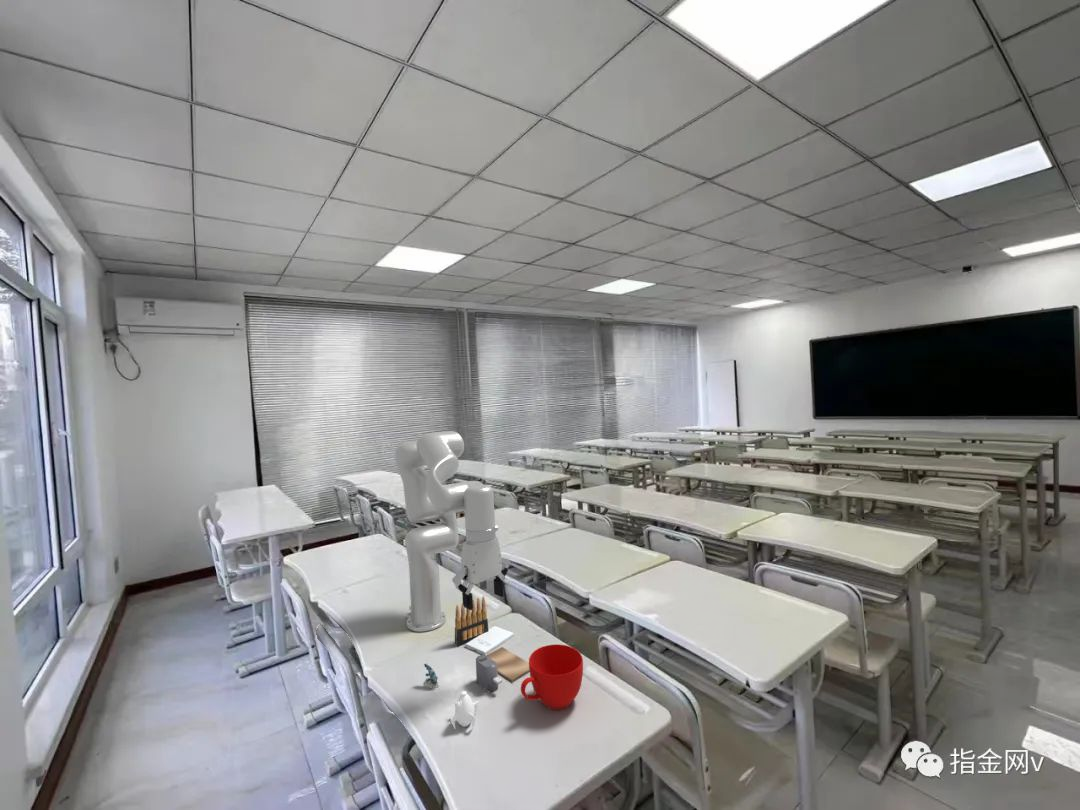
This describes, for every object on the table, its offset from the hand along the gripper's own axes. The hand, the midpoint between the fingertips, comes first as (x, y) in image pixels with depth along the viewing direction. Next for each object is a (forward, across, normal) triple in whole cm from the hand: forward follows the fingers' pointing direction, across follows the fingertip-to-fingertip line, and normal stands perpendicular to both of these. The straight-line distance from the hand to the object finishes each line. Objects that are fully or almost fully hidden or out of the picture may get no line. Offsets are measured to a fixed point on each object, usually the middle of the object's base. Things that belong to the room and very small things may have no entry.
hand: (484, 601), depth 114 cm
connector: (+21, 0, 0) cm, 21 cm away
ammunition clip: (+21, -10, -21) cm, 32 cm away
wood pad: (+21, -9, -3) cm, 23 cm away
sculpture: (+22, +10, -11) cm, 26 cm away
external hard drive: (+22, -13, -16) cm, 30 cm away
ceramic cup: (+22, -6, +17) cm, 28 cm away
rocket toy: (+22, +12, +7) cm, 26 cm away
